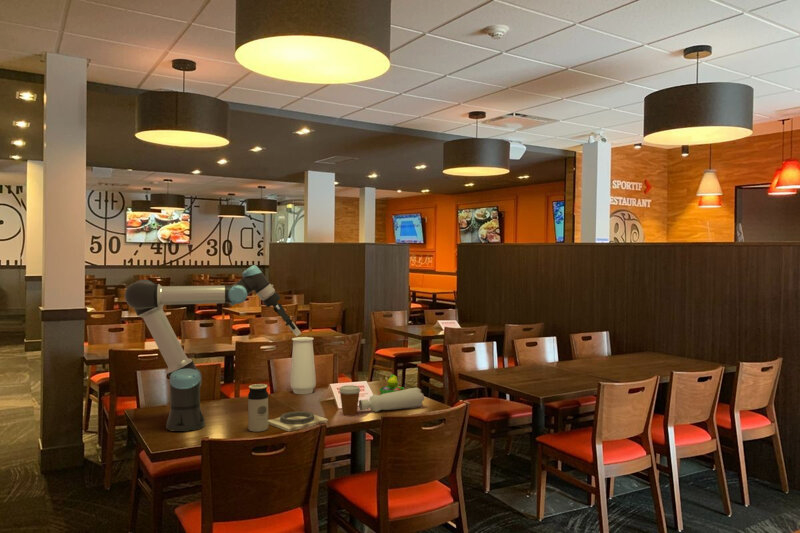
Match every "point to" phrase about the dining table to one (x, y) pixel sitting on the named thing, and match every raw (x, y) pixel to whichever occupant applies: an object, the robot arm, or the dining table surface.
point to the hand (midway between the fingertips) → (297, 332)
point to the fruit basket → (391, 386)
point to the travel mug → (258, 408)
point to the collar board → (294, 427)
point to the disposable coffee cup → (349, 399)
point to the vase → (303, 366)
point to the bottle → (394, 400)
